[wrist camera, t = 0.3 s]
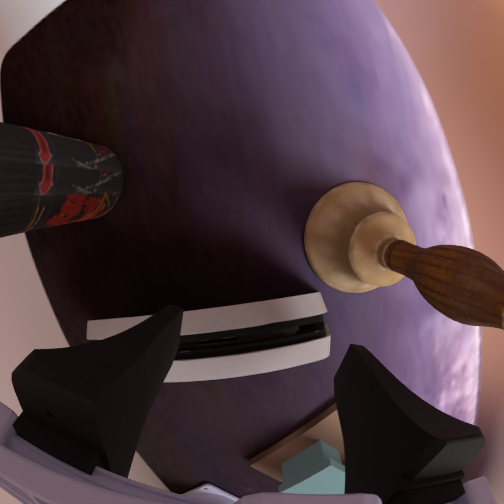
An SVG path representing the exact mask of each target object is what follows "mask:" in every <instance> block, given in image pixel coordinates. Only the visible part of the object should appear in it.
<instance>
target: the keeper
mask: <svg viewBox="0 0 504 504" xmlns="http://www.w3.org/2000/svg"><path fill="white" fill-rule="evenodd" d="M282 481H283V484H281V485H279V493H295V494H344V491H345V466H344V465H342V461H341V458H340V454H339V451H338V450H336V449H335V448H333V447H331V446H330V445H328V444H327V443H325V442H323V441H322V440H319V441H318V442H316V443H314V444H313V445H311V446H310V447H308V448H307V449H305V450H303V451H302V452H300V453H299V454H297V455H295V456H294V457H292V458H290V459H289V460H287V461H285V462H283V463H282Z"/></svg>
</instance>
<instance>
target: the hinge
mask: <svg viewBox="0 0 504 504" xmlns="http://www.w3.org/2000/svg"><path fill="white" fill-rule="evenodd" d="M326 312H327V309H326V307H325V304H324V301H323V299H322V296H321V294H320V292H316V293H310V294H305V295H299V296H293V297H286V298H280V299H273V300H267V301H260V302H253V303H246V304H239V305H231V306H224V307H216V308H208V309H200V310H192V311H184V312H183V318H182V326H181V333H180V341H179V347H178V350H177V353H176V356H175V359H174V361H173V364H172V366H171V368H170V370H169V372H168V374H167V376H166V378H165V380H164V382H187V381H201V380H214V379H224V378H232V377H239V376H246V375H253V374H259V373H265V372H271V371H276V370H281V369H285V368H290V367H294V366H299V365H303V364H307V363H311V362H314V361H318V360H322V359H325V358H326V357H328V356H329V353H330V331H329V328H328V324H324V321H323V313H326ZM150 316H152V315H147V316H137V317H126V318H115V319H104V320H91V321H88V323H87V339H91V342H95V341H98V340H102V339H105V338H108V337H111V336H113V335H116V334H118V333H121V332H123V331H125V330H127V329H129V328H131V327H133V326H135V325H137V324H139V323H140V322H142V321H144V320H145V319H147V318H149V317H150ZM299 326H300V329H299ZM238 336H241V337H240V338H238V339H235V340H227V341H219V342H209V343H199V342H198V341H207V340H215V339H223V338H231V337H238Z"/></svg>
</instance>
